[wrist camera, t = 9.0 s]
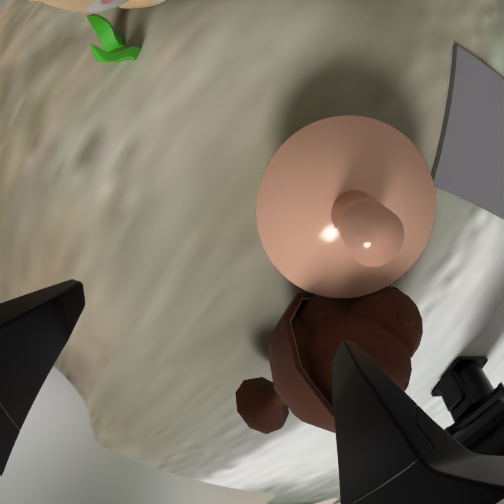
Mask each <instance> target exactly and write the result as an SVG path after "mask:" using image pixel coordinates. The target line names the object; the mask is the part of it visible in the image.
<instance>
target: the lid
mask: <svg viewBox="0 0 504 504" xmlns="http://www.w3.org/2000/svg"><path fill="white" fill-rule="evenodd" d="M435 209H436V198H435V188H434V183H433V179H432V176H431V173H430V170H429V168H428V165H427V163H426V161H425V159H424V158H423V156H422V155H421V153H420V152H419V150H418V149H417V147H416V146H415V145H414V144H413V143H412V142H411V141H410V140H409V139H408V138H407V137H406V136H405V135H404V134H402V133H401V132H400V131H399V130H397V129H395V128H394V127H392V126H391V125H389V124H386V123H384V122H382V121H380V120H377V119H373V118H369V117H365V116H357V115H340V116H335V117H329V118H325V119H322V120H319V121H316V122H313V123H311V124H309V125H307V126H305V127H303V128H301V129H300V130H298V131H297V132H295V133H294V134H292V135H291V136H290V137H289V138H288V139H287V140H286V141H285V142H284V143H282V144H281V146H280V147H279V148H278V149H277V151H276V152H275V153H274V154H273V156H272V158H271V159H270V161H269V163H268V164H267V166H266V169H265V171H264V173H263V176H262V178H261V182H260V186H259V189H258V196H257V203H256V219H257V226H258V232H259V235H260V239H261V242H262V244H263V247H264V249H265V251H266V253H267V255H268V257H269V258H270V260H271V262H272V263H273V264H274V266H275V267H276V268H277V269H278V270H279V272H280V273H281V274H283V275H284V276H285V277H286V278H287V279H288V280H289V281H291V282H292V283H294V284H295V285H296V286H298V287H300V288H302V289H304V290H306V291H308V292H311V293H313V294H316V295H320V296H324V297H330V298H353V297H360V296H364V295H368V294H371V293H374V292H376V291H379V290H381V289H383V288H385V287H387V286H389V285H390V284H392V283H393V282H395V281H396V280H398V279H399V278H400V277H401V276H402V275H403V274H405V273H406V272H407V271H408V270H409V269H410V268H411V266H412V265H413V264H414V263H415V262H416V260H417V259H418V258H419V256H420V255H421V253H422V251H423V250H424V248H425V246H426V244H427V242H428V239H429V237H430V234H431V231H432V227H433V224H434V218H435Z"/></svg>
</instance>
